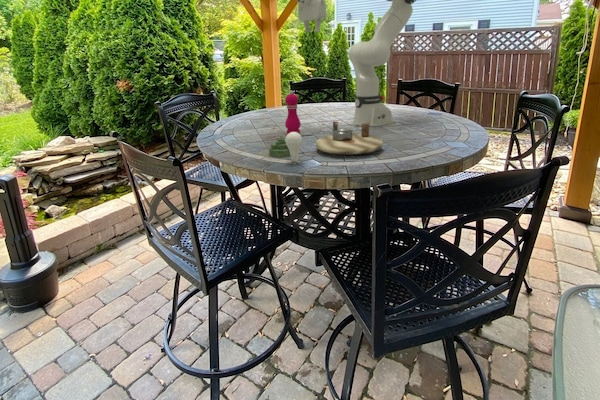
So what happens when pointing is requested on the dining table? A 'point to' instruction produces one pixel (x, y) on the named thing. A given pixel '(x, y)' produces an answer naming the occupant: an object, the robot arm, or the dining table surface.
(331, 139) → the turntable
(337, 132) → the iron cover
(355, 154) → the turntable base
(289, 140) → the lightbulb
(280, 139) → the decorative artifact
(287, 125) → the pepper mill
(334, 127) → the pointer
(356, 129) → the dining table surface
